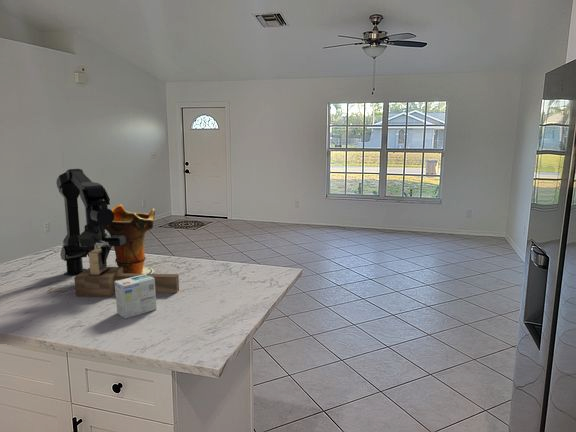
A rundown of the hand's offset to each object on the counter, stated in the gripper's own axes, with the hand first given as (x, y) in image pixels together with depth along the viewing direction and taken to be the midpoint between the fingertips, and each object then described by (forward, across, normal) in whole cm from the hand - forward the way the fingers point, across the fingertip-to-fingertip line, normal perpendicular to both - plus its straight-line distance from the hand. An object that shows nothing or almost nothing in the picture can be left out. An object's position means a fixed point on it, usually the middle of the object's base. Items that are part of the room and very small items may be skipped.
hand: (98, 263), depth 151 cm
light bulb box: (+10, +20, -18) cm, 29 cm away
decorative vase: (+10, +3, +20) cm, 23 cm away
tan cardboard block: (+3, 0, 0) cm, 3 cm away
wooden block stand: (+10, +11, 0) cm, 15 cm away
